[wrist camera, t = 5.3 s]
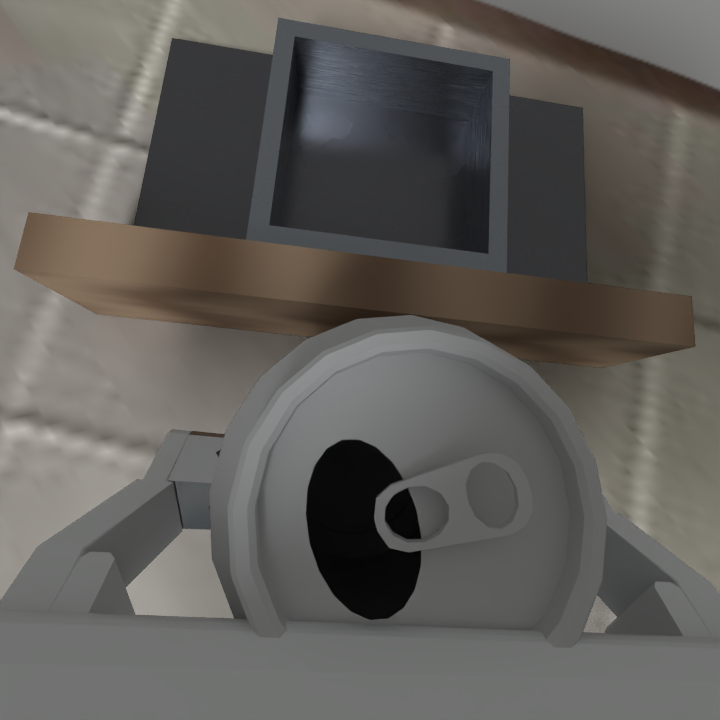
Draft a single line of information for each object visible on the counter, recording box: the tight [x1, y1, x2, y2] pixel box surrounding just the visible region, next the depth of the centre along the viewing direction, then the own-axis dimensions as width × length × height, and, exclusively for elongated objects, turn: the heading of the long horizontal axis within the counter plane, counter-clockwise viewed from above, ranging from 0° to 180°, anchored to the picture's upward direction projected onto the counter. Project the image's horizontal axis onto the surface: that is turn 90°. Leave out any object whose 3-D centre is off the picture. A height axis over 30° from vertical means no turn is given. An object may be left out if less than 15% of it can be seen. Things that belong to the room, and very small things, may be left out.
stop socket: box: [134, 18, 587, 283], centre depth 19 cm, size 22×12×3 cm, turn 85°
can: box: [209, 315, 607, 648], centre depth 12 cm, size 8×8×12 cm
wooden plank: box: [14, 212, 695, 368], centre depth 17 cm, size 24×2×5 cm, turn 85°
